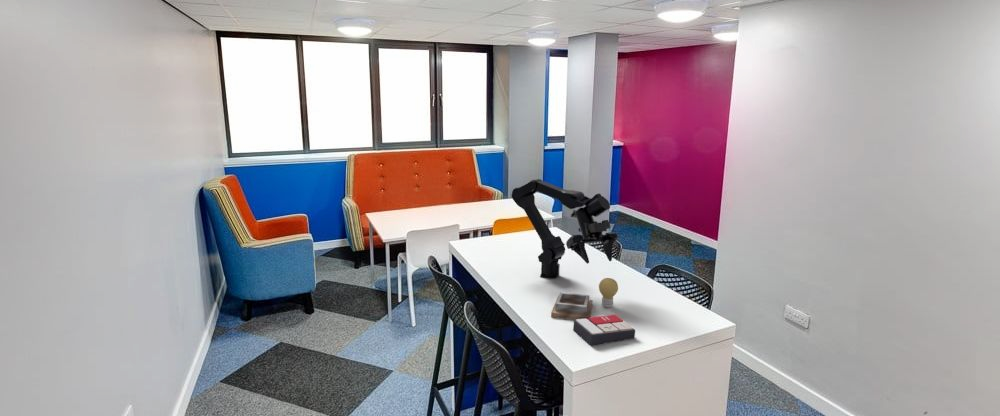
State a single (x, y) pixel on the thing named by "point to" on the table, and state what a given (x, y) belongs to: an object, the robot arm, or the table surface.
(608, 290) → the light bulb
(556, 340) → the table surface
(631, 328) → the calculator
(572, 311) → the square frame
